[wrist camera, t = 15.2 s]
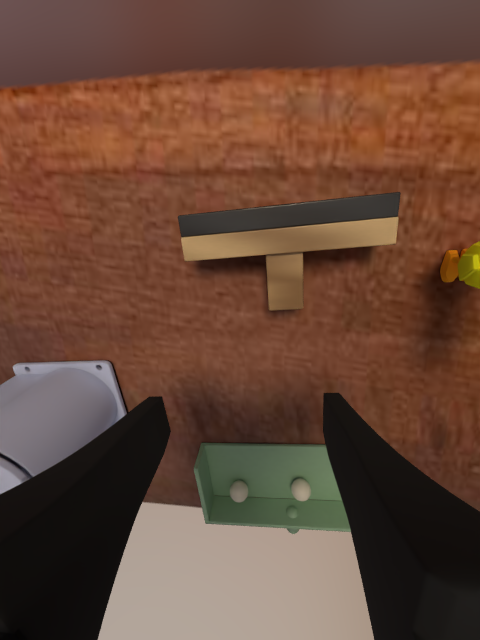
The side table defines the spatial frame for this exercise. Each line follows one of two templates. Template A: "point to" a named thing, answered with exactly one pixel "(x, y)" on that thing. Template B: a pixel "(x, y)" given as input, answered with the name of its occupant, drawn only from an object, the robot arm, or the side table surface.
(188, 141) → the side table surface
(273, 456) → the dustpan
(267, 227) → the brush
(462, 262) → the toy figure
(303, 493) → the crumb
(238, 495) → the crumb
